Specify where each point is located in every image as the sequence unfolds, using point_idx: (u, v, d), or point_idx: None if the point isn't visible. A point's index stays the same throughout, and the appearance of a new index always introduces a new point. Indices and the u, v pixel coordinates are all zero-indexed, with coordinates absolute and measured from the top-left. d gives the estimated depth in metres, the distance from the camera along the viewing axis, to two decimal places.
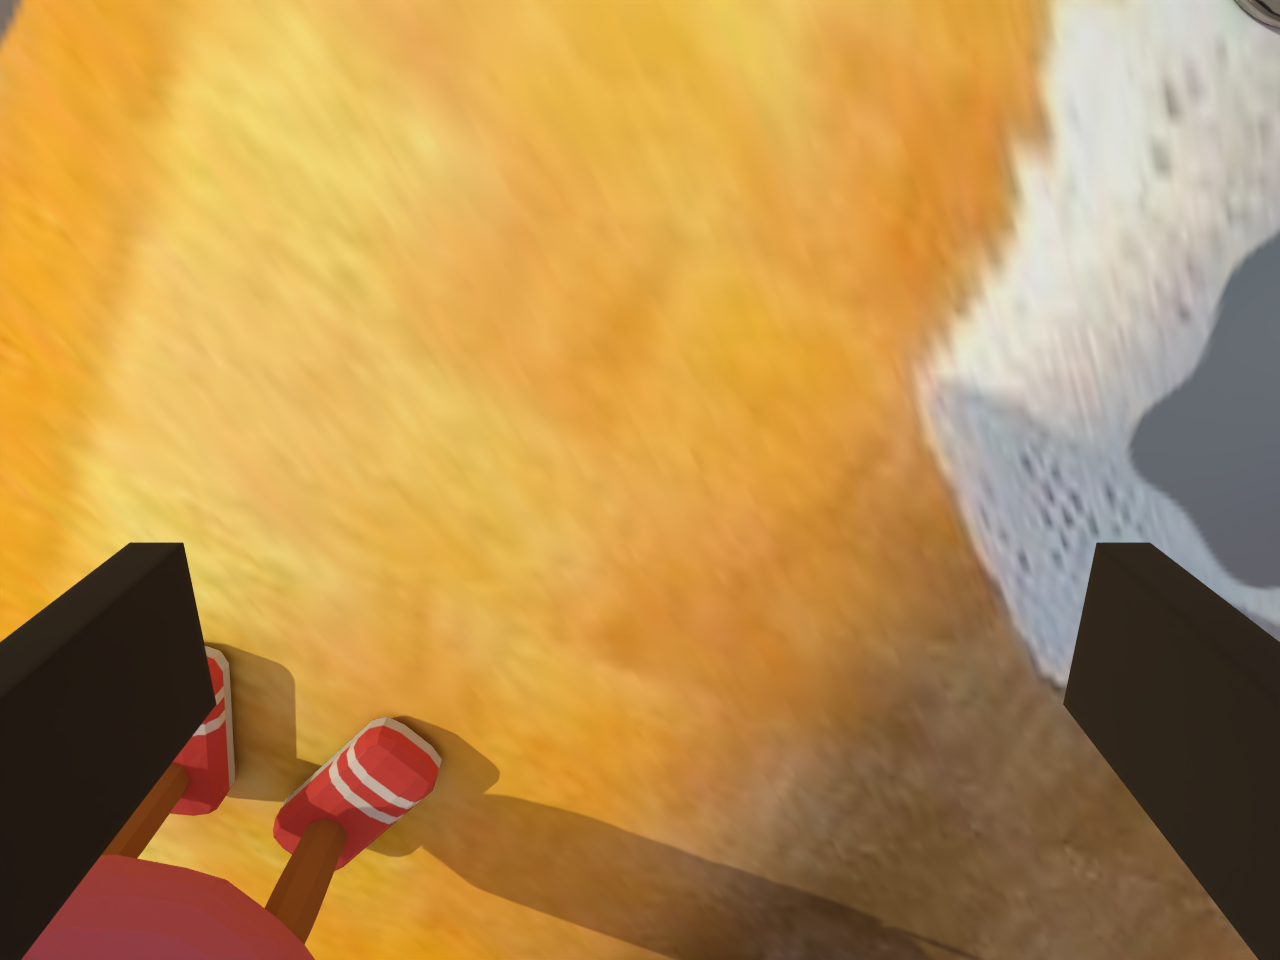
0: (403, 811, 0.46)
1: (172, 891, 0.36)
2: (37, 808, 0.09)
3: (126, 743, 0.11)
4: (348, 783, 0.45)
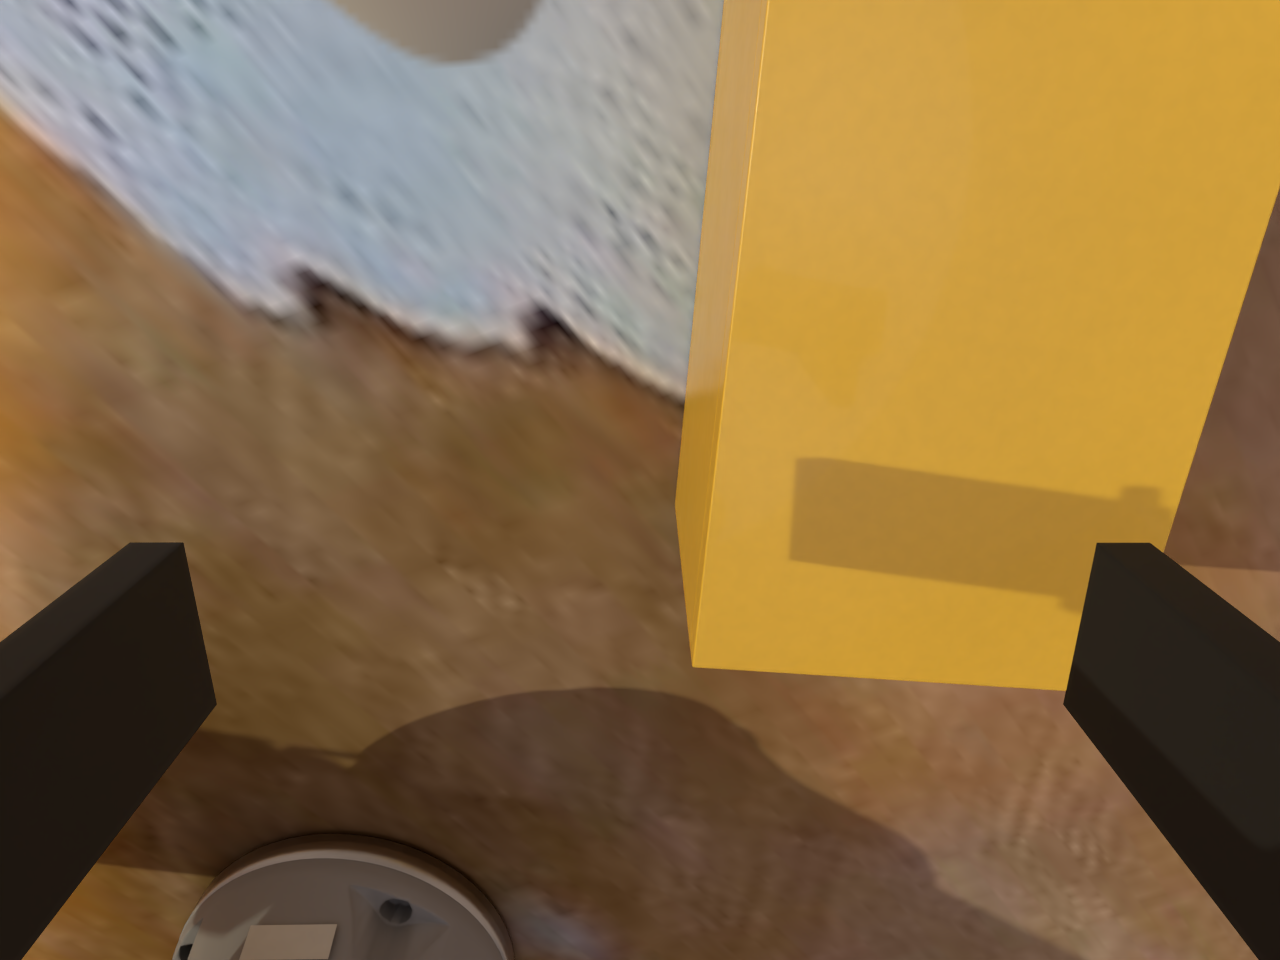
0: None
1: None
2: (37, 808, 0.09)
3: (126, 743, 0.11)
4: None
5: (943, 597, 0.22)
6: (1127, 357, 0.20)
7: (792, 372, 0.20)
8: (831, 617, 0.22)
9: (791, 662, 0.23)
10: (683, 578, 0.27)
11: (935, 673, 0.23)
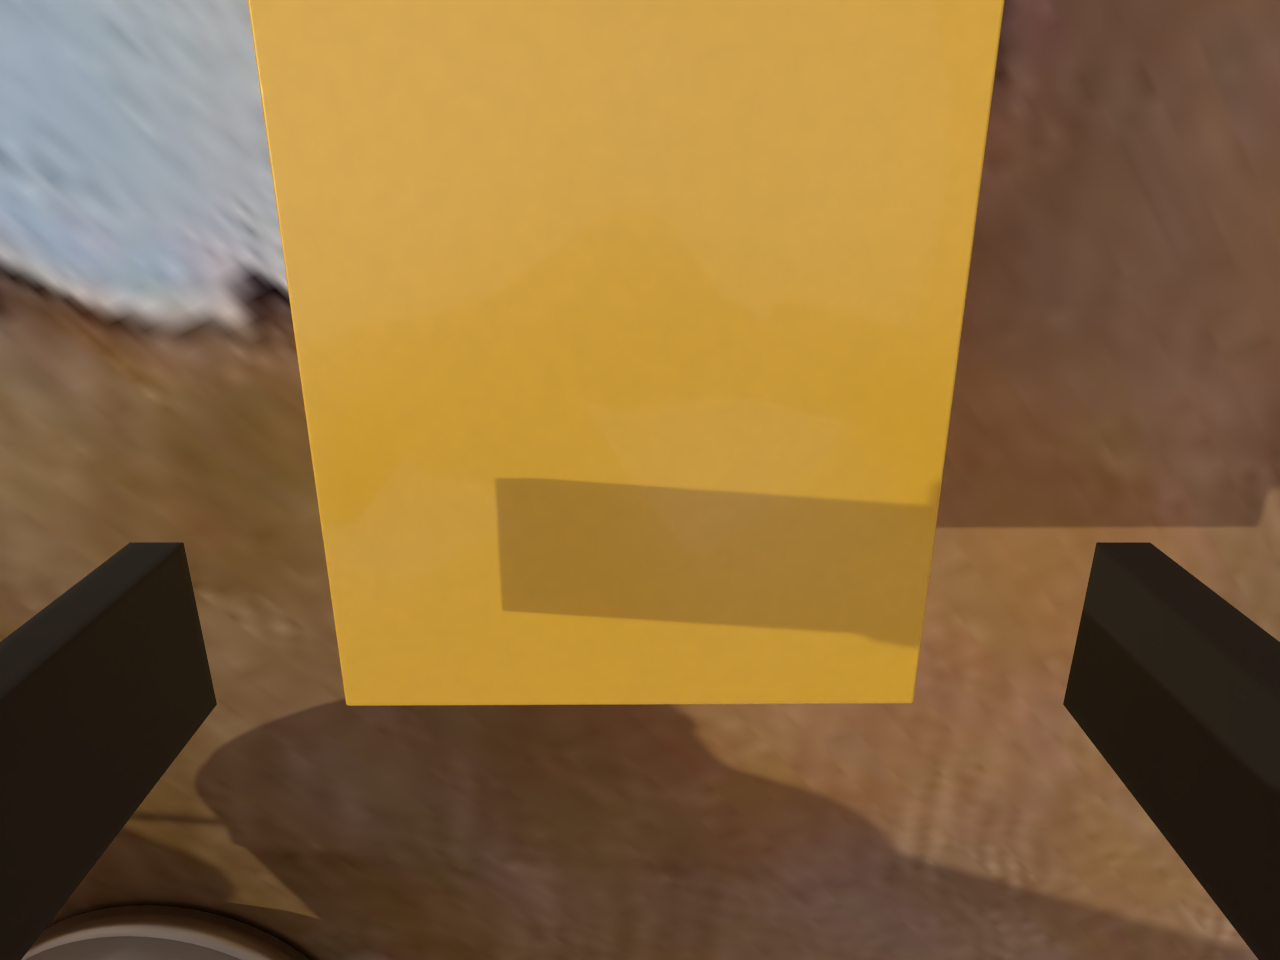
0: None
1: None
2: (37, 808, 0.09)
3: (126, 743, 0.11)
4: None
5: (654, 592, 0.16)
6: (836, 244, 0.14)
7: (379, 301, 0.14)
8: (511, 629, 0.17)
9: (473, 691, 0.17)
10: None
11: (665, 692, 0.17)
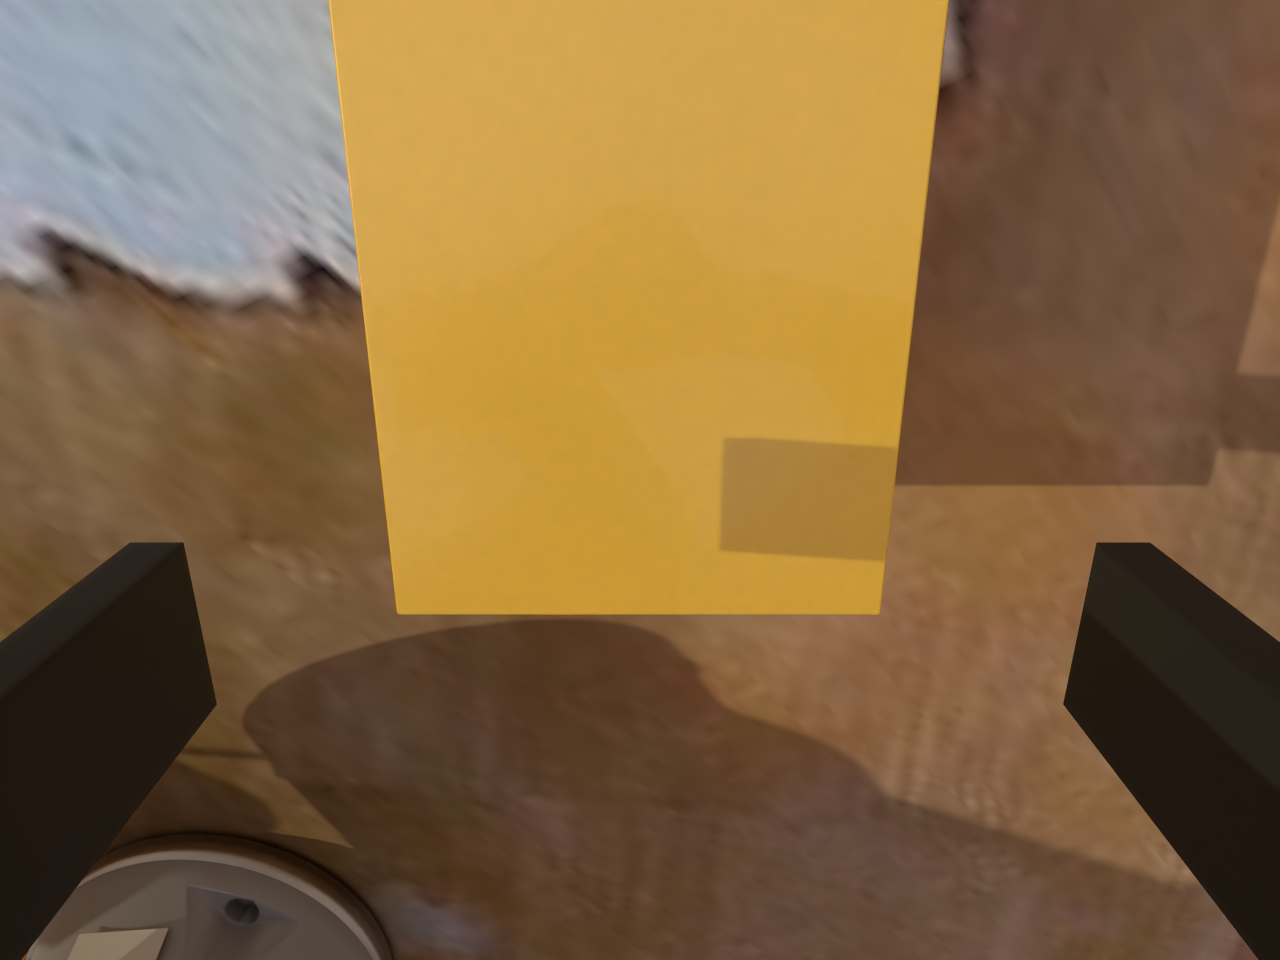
0: None
1: None
2: (37, 808, 0.09)
3: (126, 743, 0.11)
4: None
5: (659, 516, 0.19)
6: (811, 219, 0.17)
7: (432, 265, 0.17)
8: (538, 547, 0.20)
9: (505, 602, 0.20)
10: None
11: (669, 603, 0.20)
